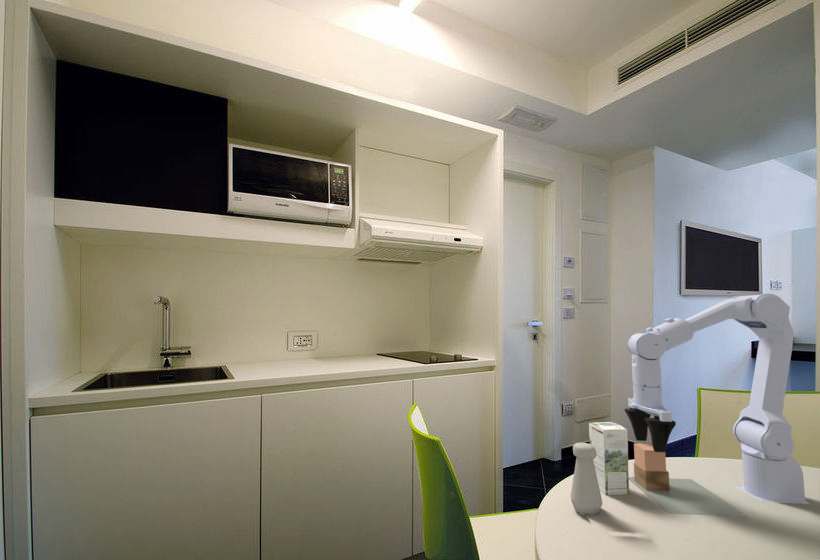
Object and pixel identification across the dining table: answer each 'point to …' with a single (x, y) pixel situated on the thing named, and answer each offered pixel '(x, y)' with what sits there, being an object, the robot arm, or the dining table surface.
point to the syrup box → (610, 457)
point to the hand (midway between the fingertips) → (650, 445)
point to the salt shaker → (585, 481)
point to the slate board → (690, 499)
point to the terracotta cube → (649, 458)
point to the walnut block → (651, 479)
